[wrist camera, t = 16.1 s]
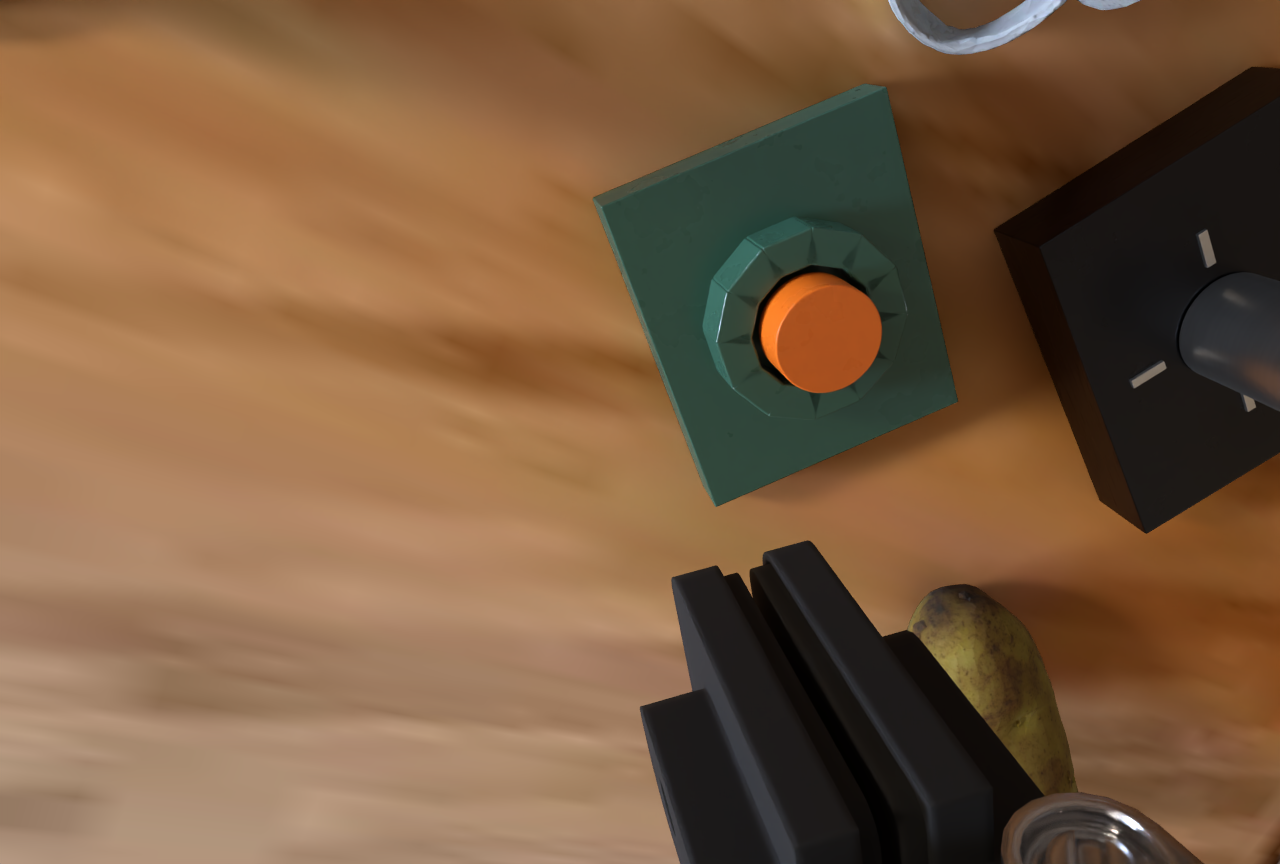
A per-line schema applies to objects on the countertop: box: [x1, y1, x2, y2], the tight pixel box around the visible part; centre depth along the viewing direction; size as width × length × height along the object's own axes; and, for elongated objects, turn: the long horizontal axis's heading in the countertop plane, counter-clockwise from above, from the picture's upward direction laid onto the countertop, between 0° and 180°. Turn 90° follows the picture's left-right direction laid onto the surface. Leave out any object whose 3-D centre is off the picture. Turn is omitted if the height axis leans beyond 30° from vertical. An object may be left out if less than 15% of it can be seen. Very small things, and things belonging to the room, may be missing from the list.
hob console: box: [994, 67, 1280, 534], centre depth 37 cm, size 14×11×3 cm
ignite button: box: [759, 272, 882, 393], centre depth 31 cm, size 4×4×2 cm
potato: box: [907, 584, 1078, 796], centre depth 40 cm, size 8×13×8 cm, turn 173°
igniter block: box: [593, 84, 958, 507], centre depth 33 cm, size 12×10×4 cm
